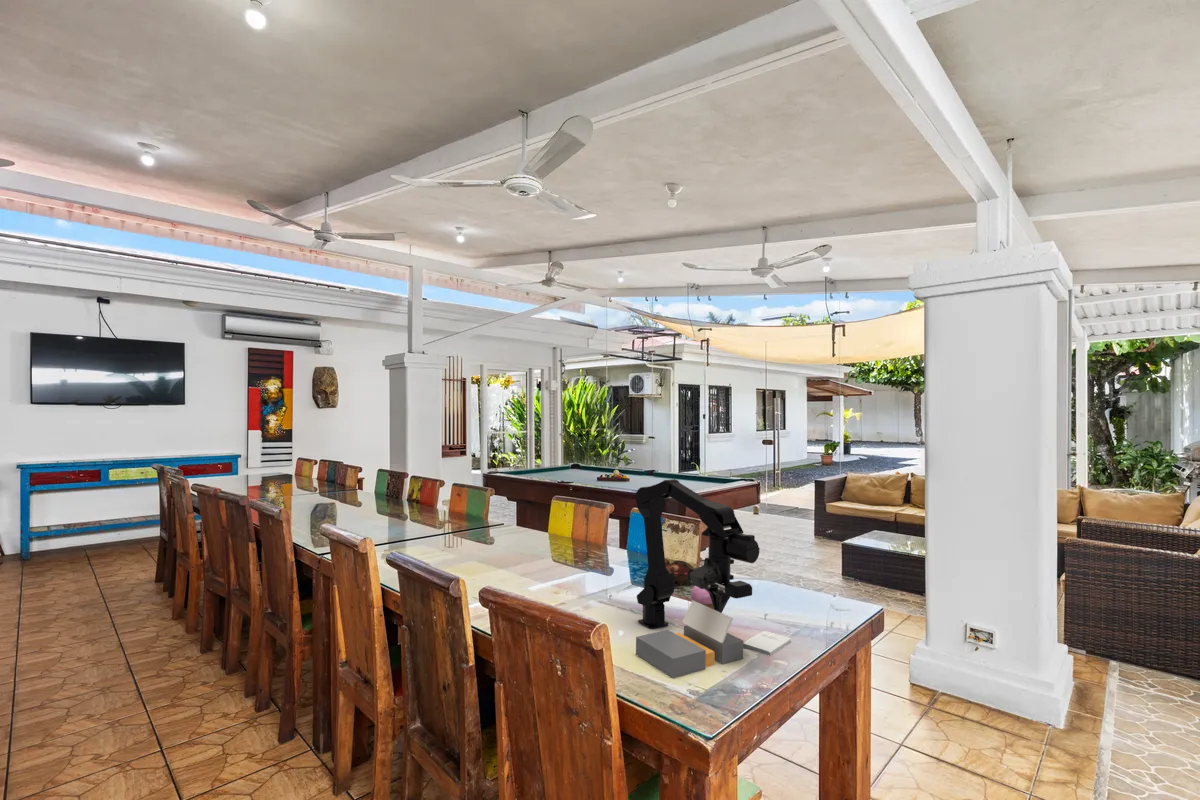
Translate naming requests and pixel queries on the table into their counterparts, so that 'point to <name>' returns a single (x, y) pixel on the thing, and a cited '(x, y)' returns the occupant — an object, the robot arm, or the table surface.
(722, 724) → the table surface
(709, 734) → the table surface
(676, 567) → the decorative turtle
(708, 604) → the cupcake
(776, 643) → the external hard drive
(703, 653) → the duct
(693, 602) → the panel
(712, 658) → the orange bar
